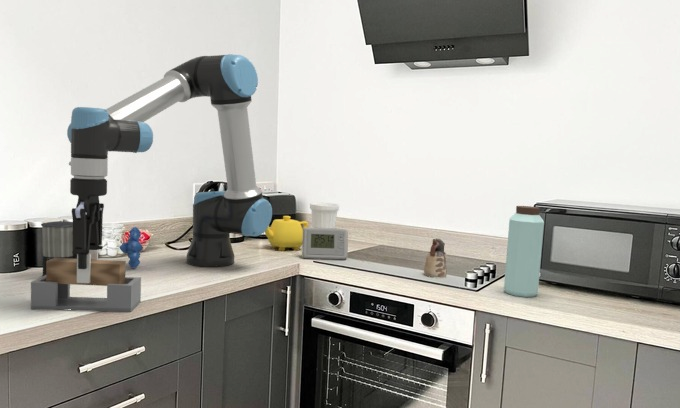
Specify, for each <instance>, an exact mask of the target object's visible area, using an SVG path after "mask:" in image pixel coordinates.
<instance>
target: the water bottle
mask: <svg viewBox="0 0 680 408" xmlns="http://www.w3.org/2000/svg"><path fill="white" fill-rule="evenodd" d="M515 209H516V210H515V213H513V215H512V216H510V218H509V223H508V235H507V245H506V246H507V248H506V259H505V268H504V269H505V271H504V284H503V285H504V286H503V290H504V291H505V293H506V294H508V295H511V296H514V297H521V298H531V297H536V295H537V294H538V293H539V284H540V283H539V282H540V272H541V262H542V261H541V260H542V249H543V238H544V227H545V226H544V225H545V222H544V219H543V218H542V217H541V215H540V207H537V206H531V205H529V206H528V205H527V206H526V205H516V207H515Z"/></svg>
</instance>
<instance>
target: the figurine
mask: <svg viewBox="0 0 680 408" xmlns="http://www.w3.org/2000/svg"><path fill="white" fill-rule="evenodd" d="M446 254H447V253H446V251H445V242H444V241H443V240H442V238H433V239H432V245H431V246H430V251H429V252H428V254H427V256H426V259H425V263H424V268H423V272H424V273H423V274H424V276H426V277H428V276H430V277H429V278H433V277H445V278H446V277H447V271H448V269H447V260H446V259H447V258H446Z"/></svg>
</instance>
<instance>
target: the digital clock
mask: <svg viewBox="0 0 680 408" xmlns="http://www.w3.org/2000/svg"><path fill="white" fill-rule="evenodd" d="M302 229H303V228H302ZM348 233H349V231H348V229H346V228H336V227H335V228H312V227H308V228H304V229H303V243H302V246H301V247H302V248H301V249H302V250H301V251H302V252H301V257H302V258H303V259H307V260H308V259H310V260H321V261H322V260H324V261H326V260H327V261H338V260H343V261H344V260H347V259H348V253H349V252H348V251H349V250H348V246H349V245H348V244H349V239H348V237H349V236H348V235H349V234H348Z"/></svg>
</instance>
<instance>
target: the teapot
mask: <svg viewBox="0 0 680 408" xmlns="http://www.w3.org/2000/svg"><path fill="white" fill-rule="evenodd" d="M302 225H303V226H302ZM304 228H309V222H308V221H305V220H302V221H300V220H296V219H291V216H289V215H282V218H281V219H274V220H273V221H272V223H271V225H269V226H268V228H267V229H266V231H265V232H264V233H265V236H266V238H267V240H268V242H269V244H270V245H272V246H271V248H273V249H278V251H280V252H284V251H286V248H292V250H294V251H299V250H300V248H299V247H302V243H303V229H304Z"/></svg>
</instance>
